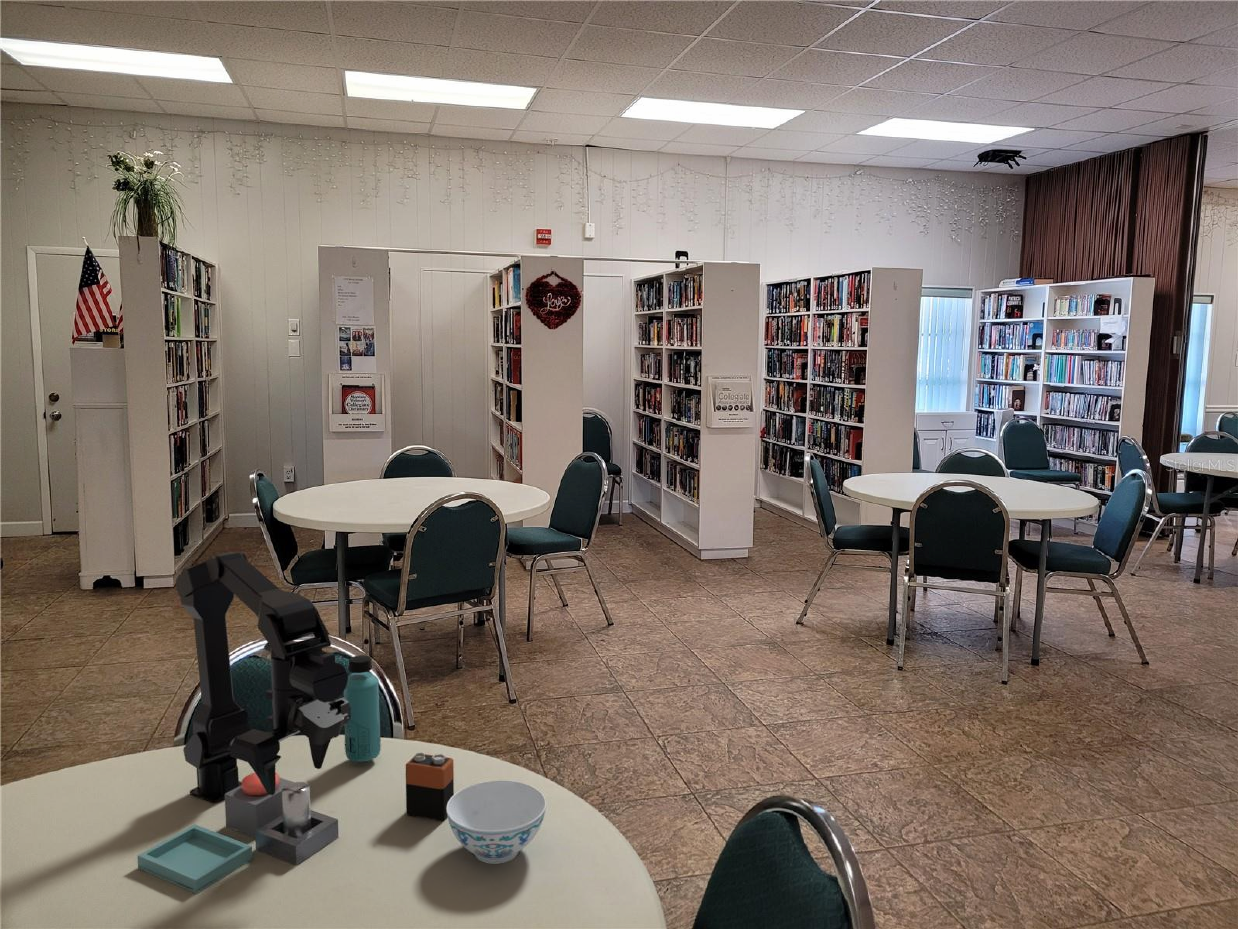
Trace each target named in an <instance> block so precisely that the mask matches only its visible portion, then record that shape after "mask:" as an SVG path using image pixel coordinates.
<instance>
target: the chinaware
mask: <svg viewBox="0 0 1238 929" xmlns="http://www.w3.org/2000/svg"><path fill="white" fill-rule="evenodd" d="M546 808H547V799H546V797H545V795H544V794H543V792H541V791H540V790H539V789H537V787H534V786H532V785H530V784H527V783H524V782H521V781H516V780H508V779H507V780H506V779H505V780H504V779H500V780H499V779H497V780H496V779H495V780H485V781H480V782H478V783H477V782H476V783H473V784H471V785H467V786H466V787H463V788H461V789H460V790H458V791H457V792H455V793H454V795H453V796H452V797H451V798H450V800H449V801H448V803H447V808H446V810H447V819H448V823H449V826H450V829H451V831H452V833H453V835H454V837H455V838H456V839H457V841H458V842H459V843H460V845H461V846H463V847H464V848H465V849H466V850H468V851H469V852H470V853H472V854H474V856H475V858H476V859H478V860H479V861H480V862H483V863H487V864H492V865H497V864H504V863H507V862H509V861H512V860H513V859H514V858H515V857H517V855H518V854H519V852H520V851H522V850H523V849H524V848H526V847H527V846H528V845H529V844H530V842H532V840H534V838H535V837H536V836H537V834H538V832H539V830H540V828H541V826H542V823H543V820H544V817H545V814H546Z"/></svg>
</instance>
